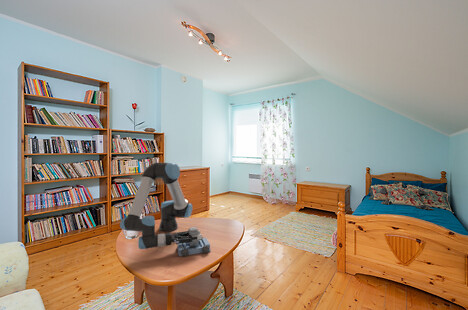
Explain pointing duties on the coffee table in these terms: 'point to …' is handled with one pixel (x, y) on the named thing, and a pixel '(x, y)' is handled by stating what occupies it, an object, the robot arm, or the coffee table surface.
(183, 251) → the chassis
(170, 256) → the coffee table surface
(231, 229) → the coffee table surface
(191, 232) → the block
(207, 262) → the coffee table surface
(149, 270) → the coffee table surface
